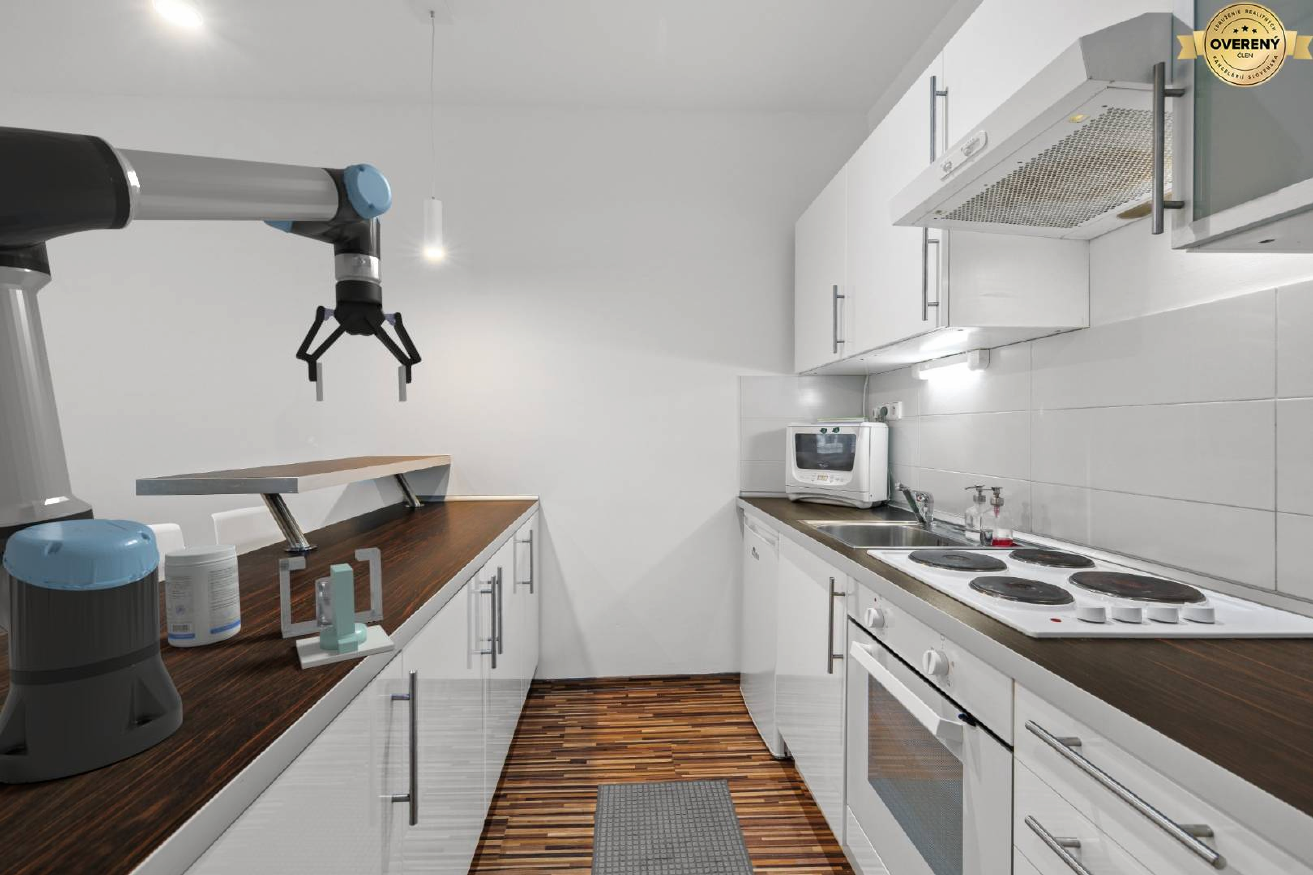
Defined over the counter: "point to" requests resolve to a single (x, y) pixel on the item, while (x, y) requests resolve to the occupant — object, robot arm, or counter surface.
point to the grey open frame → (328, 595)
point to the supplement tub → (202, 595)
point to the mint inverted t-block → (343, 614)
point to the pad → (317, 656)
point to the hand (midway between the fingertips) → (362, 401)
